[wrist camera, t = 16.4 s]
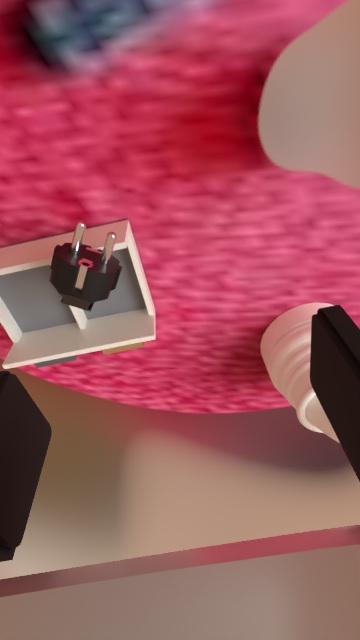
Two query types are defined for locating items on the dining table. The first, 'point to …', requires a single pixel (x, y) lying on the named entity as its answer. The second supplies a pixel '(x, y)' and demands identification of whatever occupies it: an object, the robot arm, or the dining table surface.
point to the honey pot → (295, 364)
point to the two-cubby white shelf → (64, 320)
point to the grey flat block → (55, 361)
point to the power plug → (84, 270)
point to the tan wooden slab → (123, 348)
